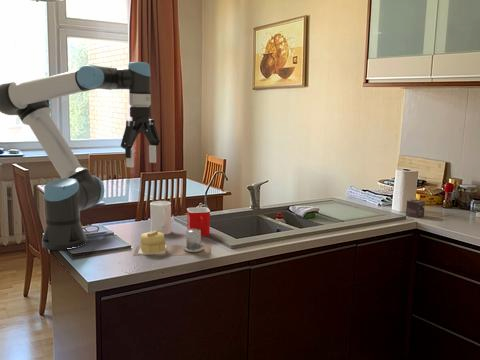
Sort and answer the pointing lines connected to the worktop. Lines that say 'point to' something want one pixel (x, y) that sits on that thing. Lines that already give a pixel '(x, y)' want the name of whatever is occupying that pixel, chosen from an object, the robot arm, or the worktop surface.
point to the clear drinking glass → (193, 241)
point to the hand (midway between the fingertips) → (141, 164)
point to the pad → (151, 253)
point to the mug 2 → (199, 219)
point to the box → (415, 208)
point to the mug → (161, 216)
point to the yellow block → (152, 242)
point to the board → (177, 251)
